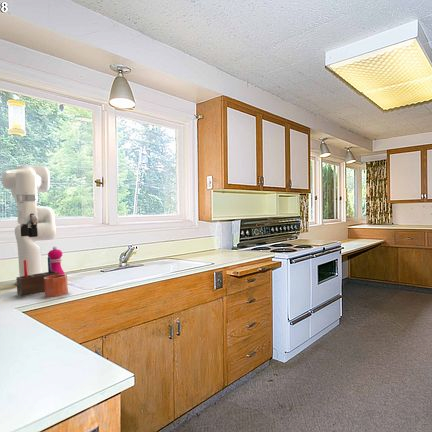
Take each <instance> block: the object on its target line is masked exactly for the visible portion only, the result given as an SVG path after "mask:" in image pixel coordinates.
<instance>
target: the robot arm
mask: <svg viewBox="0 0 432 432" xmlns="http://www.w3.org/2000/svg"><path fill="white" fill-rule="evenodd" d="M1 185H2V187H4V188H5V189H7V190H10V192H11V195H12V197H13V198H14V200H15V202H16V214H17V224H18V225H16V226H15V227H14V236H15V240H16V244H17V245H16V246H17V257H18V258H17V259H18V273H19V274H18V275H19V276H18V277H21V276H24V260H27V274H28V275H33V274H39V273H43V263H42V249H41V247H40V245H38V244H37V243H36V242H38V241H39V242H40V241H50V240H54V239H55V238H56V237H57V225H56V215H55V211H54V209H53V208H52V207H50V206H38V202H39V200H38V199H39V198H38V193H47V192H49V190H50V187H51V173H50V170H49V169H48V167H46V166H45V165H34V164H33V165H31V164H30V165H29V164H22V165H19V166H17V167H16V168H14V169H8V170H4V171H3V173H2V176H1ZM15 284H16V285H17V281H15Z"/></svg>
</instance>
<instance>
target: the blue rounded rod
mask: <svg viewBox="0 0 432 432" xmlns="http://www.w3.org/2000/svg"><path fill="white" fill-rule="evenodd" d="M47 272H48V274H49V273H51V258H50V257H48V256H47Z"/></svg>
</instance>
